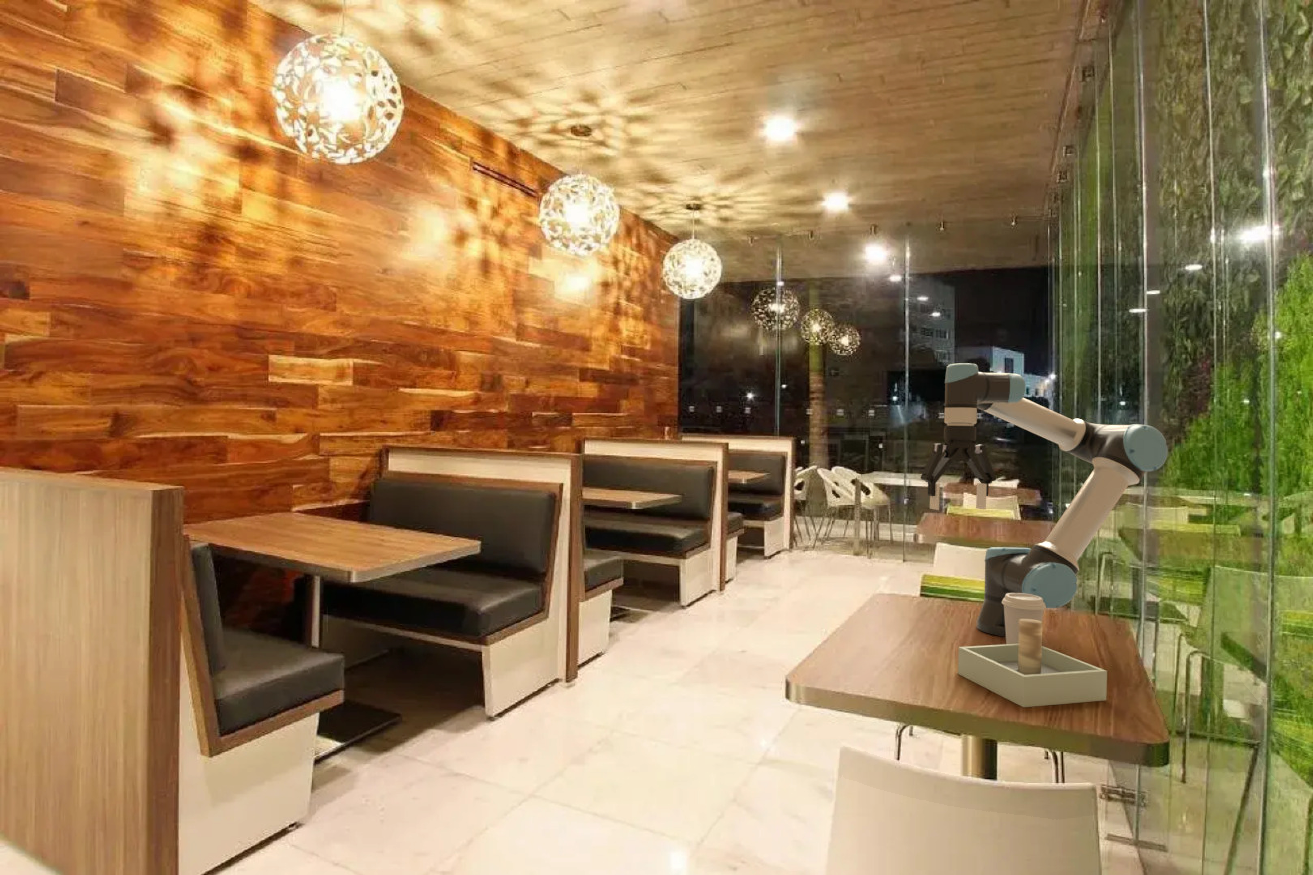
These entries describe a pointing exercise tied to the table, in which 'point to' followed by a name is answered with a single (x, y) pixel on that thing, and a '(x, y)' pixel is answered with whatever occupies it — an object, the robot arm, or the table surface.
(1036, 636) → the peg
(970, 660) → the grey-green open tray
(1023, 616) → the coffee cup
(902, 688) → the table surface
